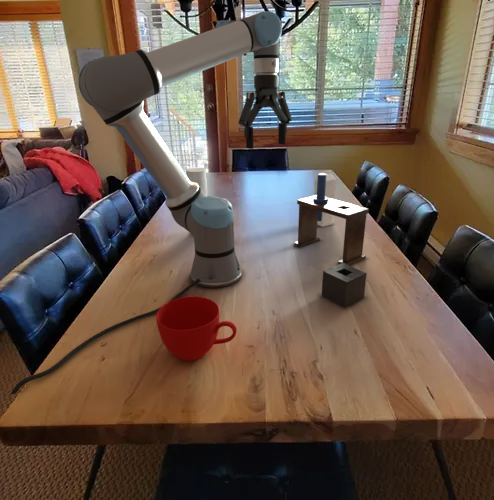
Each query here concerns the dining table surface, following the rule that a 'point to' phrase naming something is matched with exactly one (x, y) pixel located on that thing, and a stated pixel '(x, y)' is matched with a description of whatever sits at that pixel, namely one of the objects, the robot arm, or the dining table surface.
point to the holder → (343, 284)
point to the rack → (340, 209)
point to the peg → (320, 193)
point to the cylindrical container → (198, 177)
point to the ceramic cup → (191, 326)
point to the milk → (330, 193)
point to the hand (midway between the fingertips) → (266, 146)
